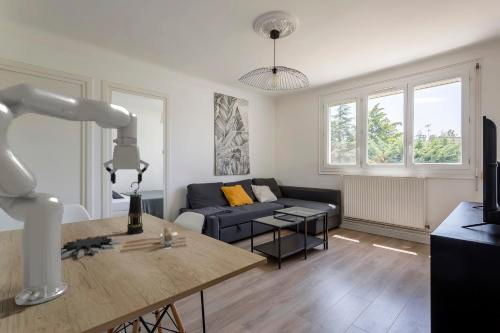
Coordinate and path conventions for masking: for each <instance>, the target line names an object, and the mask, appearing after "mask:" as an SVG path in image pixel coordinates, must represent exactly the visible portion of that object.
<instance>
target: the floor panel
mask: <svg viewBox="0 0 500 333" xmlns="http://www.w3.org/2000/svg"><path fill="white" fill-rule="evenodd" d="M125 241H126V242H125V243H124V245H123V246H122V248H121V249H120V251H119V252H118V255H119V254H120V255H121V254H130V253H139V252H150V251H161V250H170V249H171V250H172V249H181V248H182V249H183V248H187V240H186V235H177V243H171V247H165V244H161V245H160V237H152V238H151V237H150V238H140V239H128V240H125Z"/></svg>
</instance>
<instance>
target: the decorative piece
mask: <svg viewBox="0 0 500 333" xmlns="http://www.w3.org/2000/svg"><path fill="white" fill-rule="evenodd" d="M75 240H76V241H73V240H72V241H66V243H64V244H63V245H62V246H61V261H62V260H65V259H69V258H70V259H71V258H72V257H74V256H76V259H78V260H80V259H82V258H83V257H85V256H87V255H88V256H89V255H92V256H94V255H96V254H100V252H101V250H113V249H115V247H113V246H115V245H121V244H122V243H121V242H119V240H120V239H118V238H111V237H110V236H101V237H100V235H98V236H95V237H93V238H92V237H90V236H88V237H86V238H85V239H82V238H80V239H79V238H76V239H75Z"/></svg>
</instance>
